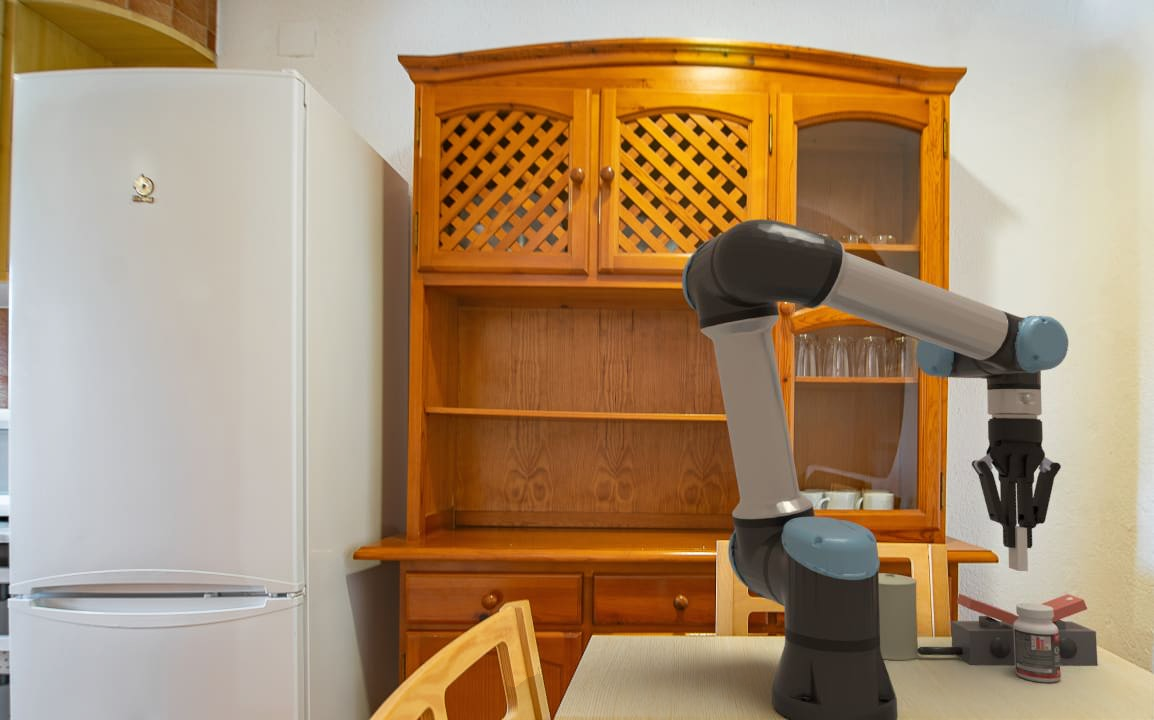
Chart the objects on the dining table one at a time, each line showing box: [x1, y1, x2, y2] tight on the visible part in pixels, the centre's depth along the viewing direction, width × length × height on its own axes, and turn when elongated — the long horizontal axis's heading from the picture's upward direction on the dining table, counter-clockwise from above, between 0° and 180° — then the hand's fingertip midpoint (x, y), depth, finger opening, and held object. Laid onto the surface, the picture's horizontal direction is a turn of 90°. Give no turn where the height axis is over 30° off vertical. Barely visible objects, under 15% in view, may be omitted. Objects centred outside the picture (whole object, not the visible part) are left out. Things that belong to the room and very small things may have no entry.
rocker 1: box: [956, 593, 1019, 625], centre depth 123 cm, size 8×4×2 cm, turn 88°
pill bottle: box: [1013, 602, 1062, 684], centre depth 114 cm, size 6×6×10 cm
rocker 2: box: [1041, 593, 1088, 622], centre depth 123 cm, size 8×4×2 cm, turn 91°
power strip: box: [918, 615, 1098, 666], centre depth 122 cm, size 26×6×6 cm, turn 89°
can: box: [878, 572, 920, 661], centre depth 127 cm, size 9×9×12 cm
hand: (1018, 569), depth 123 cm, fingers closed
